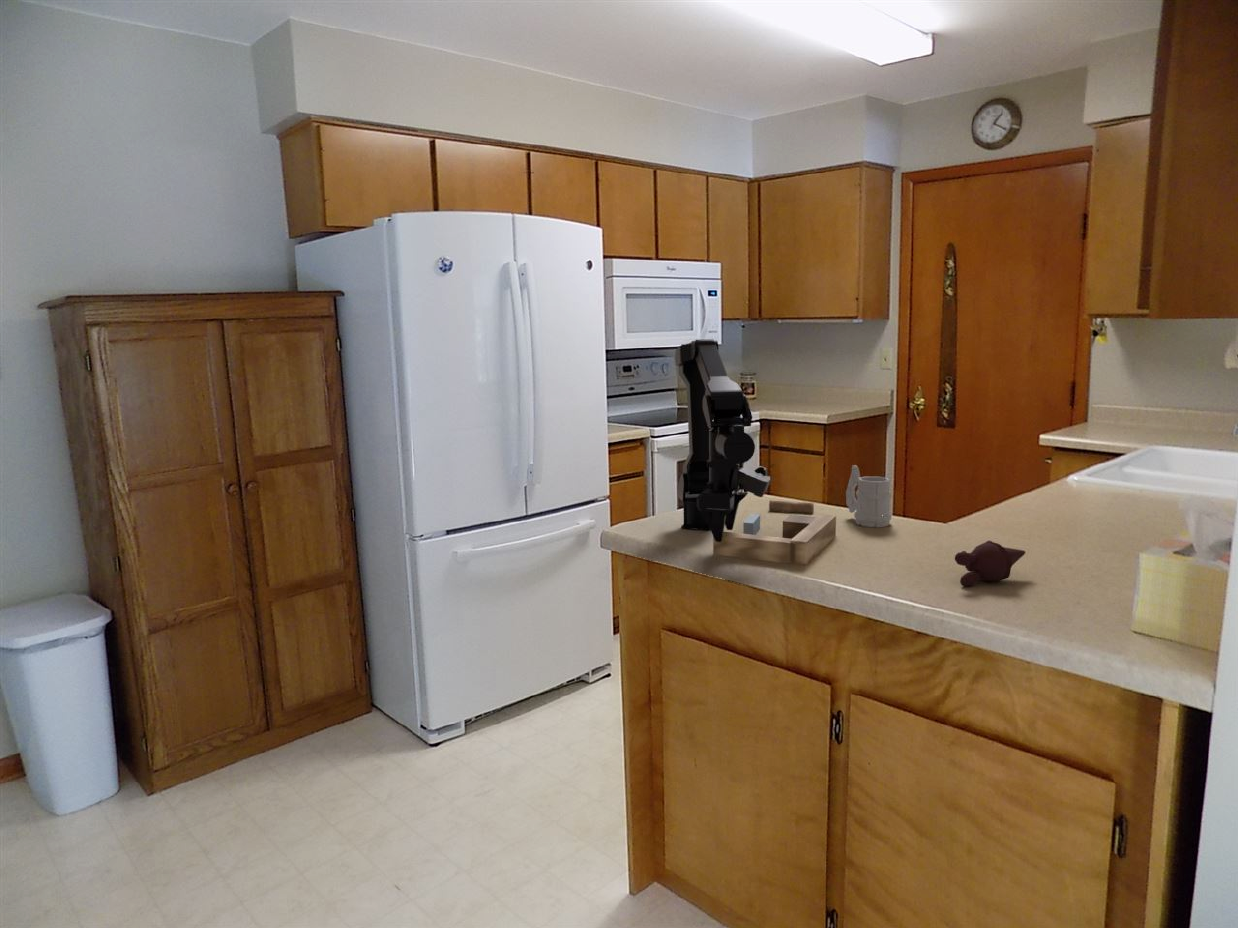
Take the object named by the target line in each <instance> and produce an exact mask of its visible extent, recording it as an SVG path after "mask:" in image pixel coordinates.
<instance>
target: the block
mask: <svg viewBox="0 0 1238 928" xmlns="http://www.w3.org/2000/svg"><path fill="white" fill-rule="evenodd" d="M818 517H819V516H809V515H797V514H796V515H795V514H789V516H787V517H786V518H784V520H782V537H781V538H789V539H792V538H794V537H795V536H796V535H797V534H798V533H800V532H801V531H802V530H803V529H804V528H806V527H807V526H808V525H809V524H810V523H812V522H813V521H814V520H815V519H816V518H818Z"/></svg>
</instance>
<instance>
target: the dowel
mask: <svg viewBox="0 0 1238 928" xmlns="http://www.w3.org/2000/svg"><path fill="white" fill-rule="evenodd" d="M768 502H769V503H768V511H769V510H771V511H770V512H781V511H784V512H785V513H799V514H814V512H815V503H814V502H803V501H783V500H782V501H781V500H769V501H768ZM784 512H783V513H784Z"/></svg>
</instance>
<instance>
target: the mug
mask: <svg viewBox="0 0 1238 928" xmlns="http://www.w3.org/2000/svg"><path fill="white" fill-rule="evenodd" d="M849 477H850V478H849V480H848V485H847V489H846V490H845V496H846V500H845V501H846V507H848V510H849V512H850V513H851V514H854V518H855V524H856V525H857V526H862V527H866V528H884V527H888V526H890V523H891V522H890V521H891V520H892V513H890V498H891V496H892V492H891V491H890V479H889V478H888V477H883V476H873V475H872V476H867V475H866V476H862V477H861V474H860V469H859V467H858V466H857V465H856V464H854V465H851V473H850V476H849ZM856 487H857V490H856V491H855V489H856ZM882 515H883V516H882Z"/></svg>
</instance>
